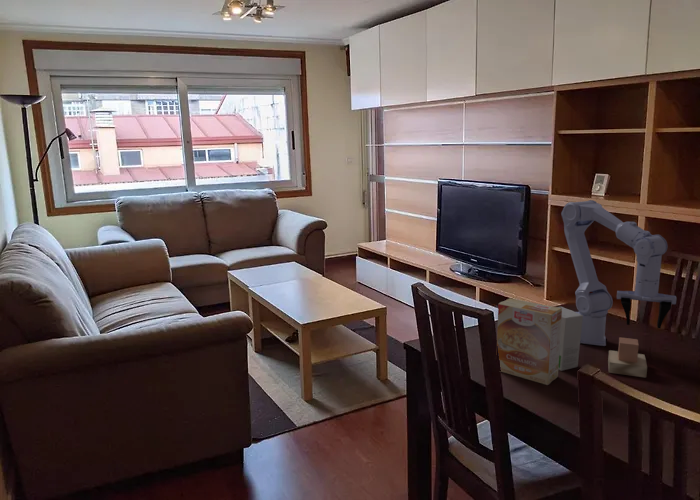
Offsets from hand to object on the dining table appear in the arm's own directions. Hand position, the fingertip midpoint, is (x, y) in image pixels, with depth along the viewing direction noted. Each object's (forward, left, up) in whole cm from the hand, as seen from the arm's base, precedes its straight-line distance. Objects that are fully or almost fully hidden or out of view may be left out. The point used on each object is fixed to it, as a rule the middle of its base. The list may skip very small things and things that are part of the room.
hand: (643, 325), depth 154 cm
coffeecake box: (-29, -21, -11) cm, 37 cm away
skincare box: (-21, -11, -11) cm, 26 cm away
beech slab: (-4, -8, -10) cm, 14 cm away
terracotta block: (-4, -8, -7) cm, 11 cm away
